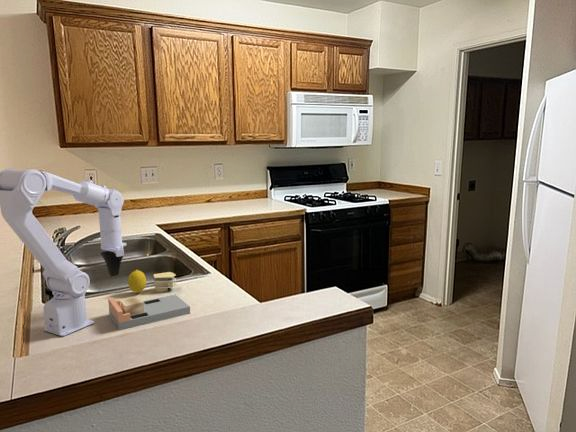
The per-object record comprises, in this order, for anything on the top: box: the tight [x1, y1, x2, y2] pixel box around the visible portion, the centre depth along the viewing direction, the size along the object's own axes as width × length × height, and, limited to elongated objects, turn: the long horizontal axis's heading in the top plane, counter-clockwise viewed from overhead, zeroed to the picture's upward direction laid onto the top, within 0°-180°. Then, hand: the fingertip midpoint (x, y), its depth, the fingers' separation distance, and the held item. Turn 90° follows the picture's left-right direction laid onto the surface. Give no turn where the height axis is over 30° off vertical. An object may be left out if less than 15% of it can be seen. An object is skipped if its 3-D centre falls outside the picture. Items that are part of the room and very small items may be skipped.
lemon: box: [127, 269, 147, 294], centre depth 137 cm, size 6×6×8 cm
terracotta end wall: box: [107, 297, 131, 323], centre depth 116 cm, size 3×12×3 cm, turn 34°
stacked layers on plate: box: [153, 271, 177, 293], centre depth 140 cm, size 10×9×6 cm
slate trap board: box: [108, 294, 191, 331], centre depth 121 cm, size 20×12×2 cm, turn 124°
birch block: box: [120, 296, 144, 315], centre depth 118 cm, size 5×5×3 cm
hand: (114, 275), depth 125 cm, fingers closed
